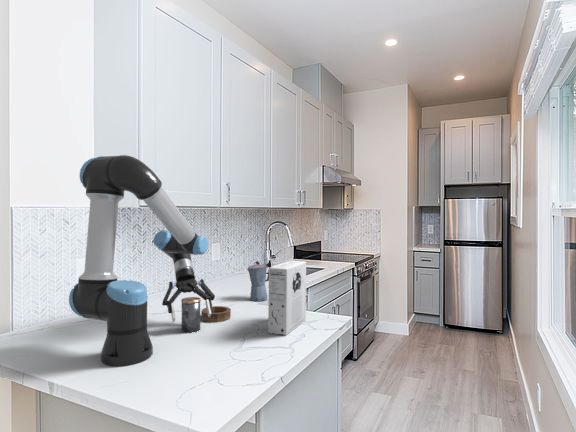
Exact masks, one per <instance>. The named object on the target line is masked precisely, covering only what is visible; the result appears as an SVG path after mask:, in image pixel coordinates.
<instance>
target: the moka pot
mask: <svg viewBox="0 0 576 432" xmlns="http://www.w3.org/2000/svg"><path fill="white" fill-rule="evenodd" d="M270 267H272V266H271V265H270V264H269V263H268V262H267V263H266V264H265V263H264V264H259V261H258V260H256V261H255V264H254V265H250V266H248V267H247V269H246V270H247V271H248V273H249V279H250V282H251V284H250V285H251V287H250V301H253V302H263V301H266V300H268V299H269V296H268V293H267V285H266V282H269V268H270ZM267 268H268V269H267ZM267 270H268V271H267Z"/></svg>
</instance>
